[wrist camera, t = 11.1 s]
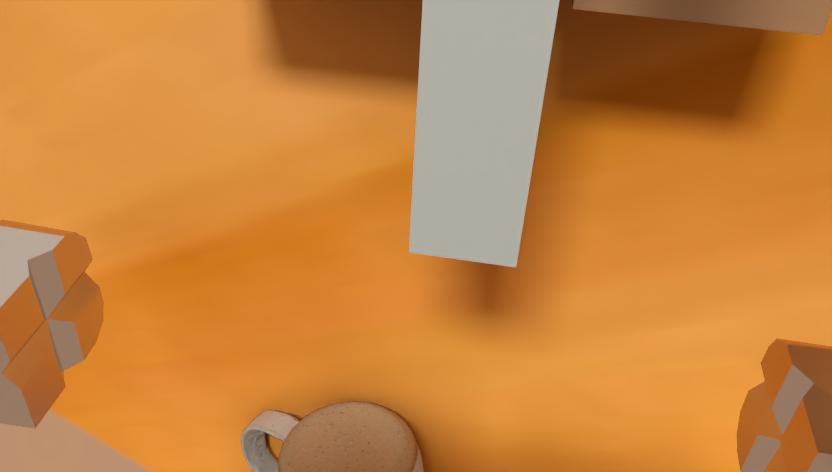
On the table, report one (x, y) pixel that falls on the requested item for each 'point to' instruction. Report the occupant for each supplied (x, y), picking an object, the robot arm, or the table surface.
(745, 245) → the table surface
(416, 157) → the grey flat block
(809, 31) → the walnut rail
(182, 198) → the table surface
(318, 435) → the ceramic mug
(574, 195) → the table surface
